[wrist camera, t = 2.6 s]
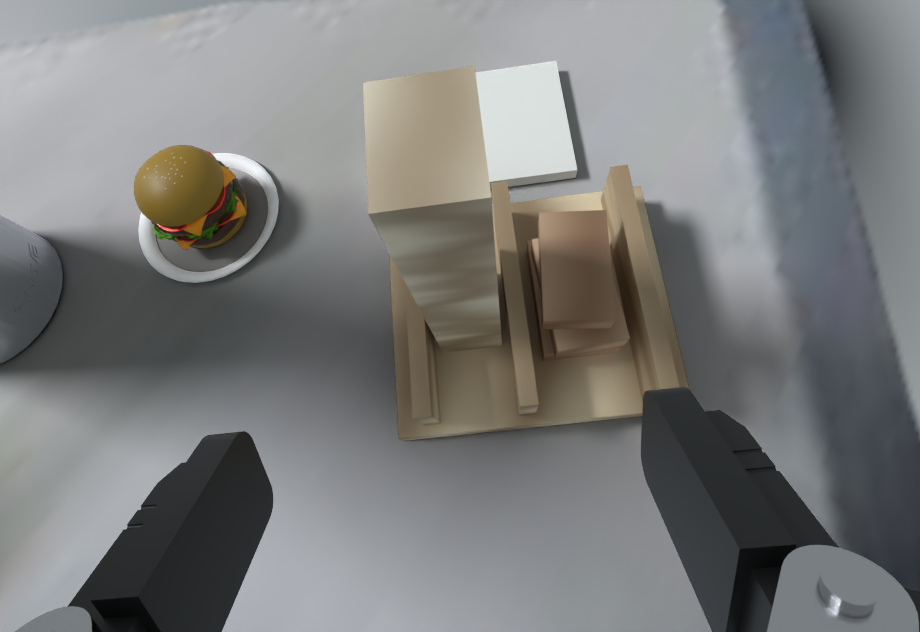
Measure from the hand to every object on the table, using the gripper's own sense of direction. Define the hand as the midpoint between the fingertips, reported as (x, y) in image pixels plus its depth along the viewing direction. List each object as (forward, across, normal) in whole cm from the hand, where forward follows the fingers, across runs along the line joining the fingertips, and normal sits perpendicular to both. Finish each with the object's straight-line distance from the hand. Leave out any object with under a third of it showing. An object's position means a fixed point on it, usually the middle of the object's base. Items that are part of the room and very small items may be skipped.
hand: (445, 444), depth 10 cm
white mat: (+25, -1, -3) cm, 25 cm away
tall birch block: (+15, 0, +5) cm, 16 cm away
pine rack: (+16, -3, +6) cm, 17 cm away
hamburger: (+23, +15, 0) cm, 28 cm away
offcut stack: (+15, -5, +4) cm, 17 cm away
